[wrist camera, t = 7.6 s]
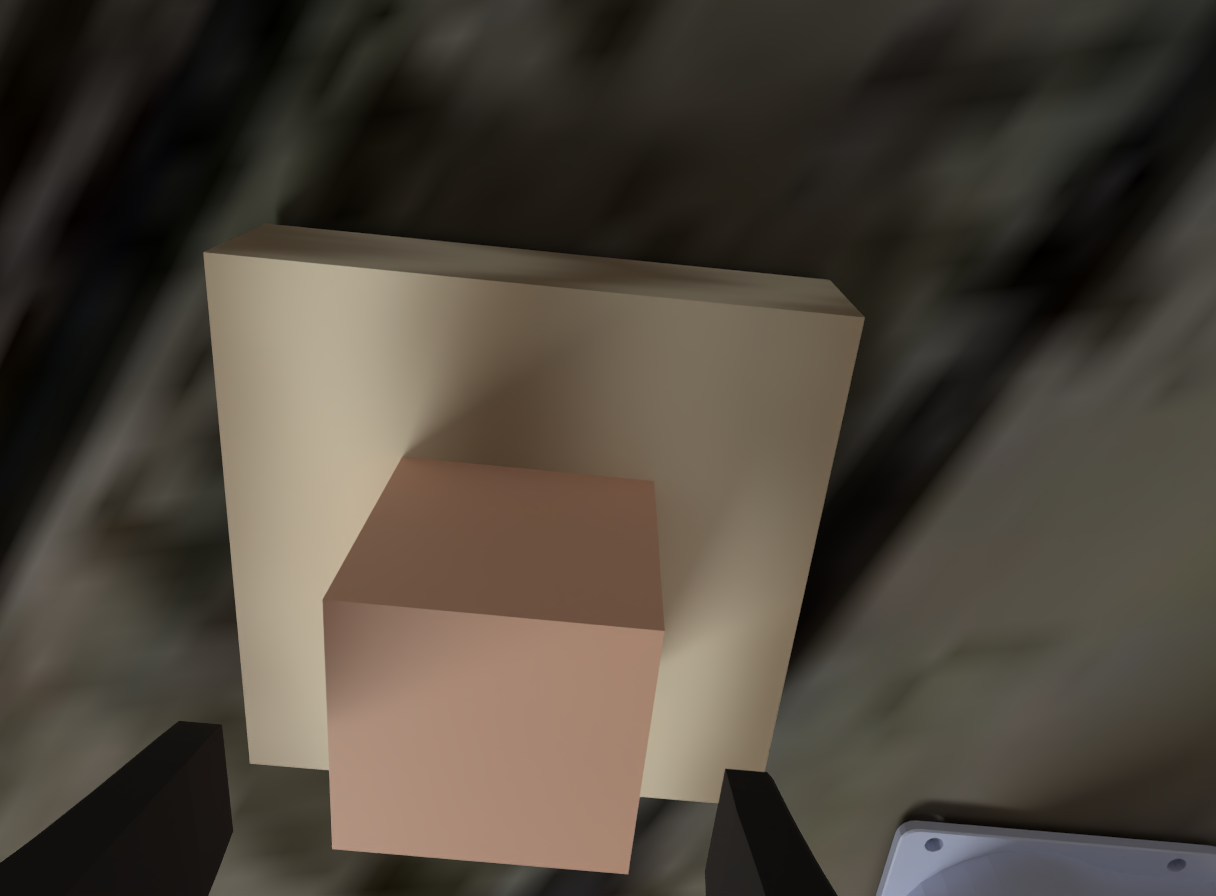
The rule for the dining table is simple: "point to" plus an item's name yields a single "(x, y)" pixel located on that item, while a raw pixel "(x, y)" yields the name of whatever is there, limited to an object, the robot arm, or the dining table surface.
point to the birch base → (529, 447)
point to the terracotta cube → (495, 667)
